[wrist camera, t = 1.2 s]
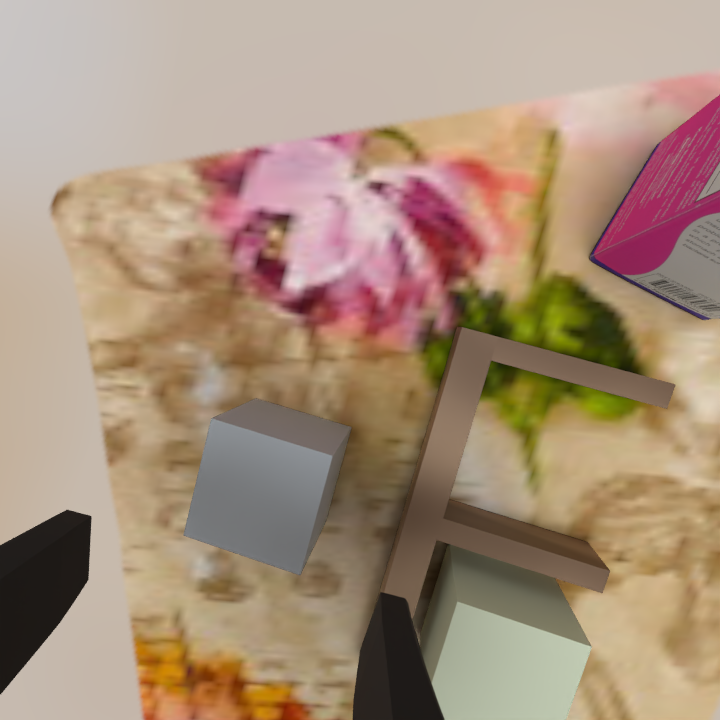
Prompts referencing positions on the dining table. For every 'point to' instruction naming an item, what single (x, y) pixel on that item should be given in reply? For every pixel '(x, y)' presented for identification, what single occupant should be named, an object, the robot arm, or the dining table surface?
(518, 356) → the comb rack
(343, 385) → the dining table surface
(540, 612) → the sage block
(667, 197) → the supplement box
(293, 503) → the slate block
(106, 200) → the dining table surface
